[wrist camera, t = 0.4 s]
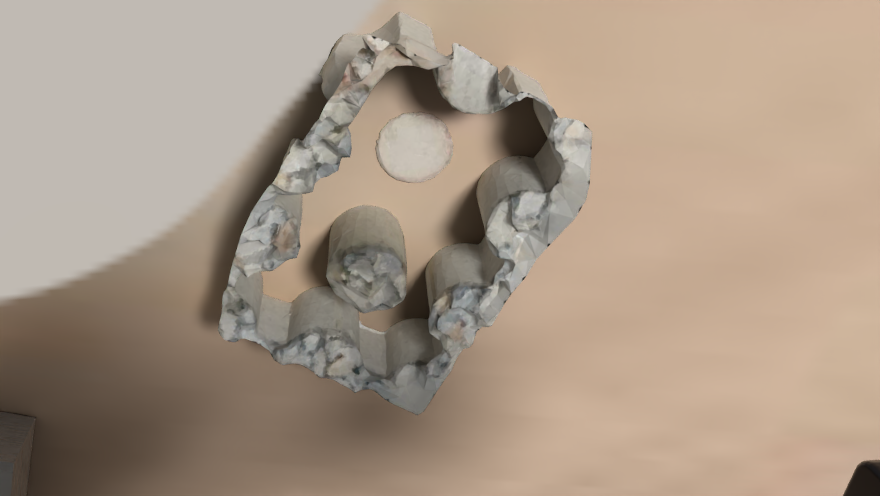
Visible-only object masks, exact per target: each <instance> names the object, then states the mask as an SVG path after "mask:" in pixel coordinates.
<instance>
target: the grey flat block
mask: <svg viewBox="0 0 880 496" xmlns="http://www.w3.org/2000/svg"><path fill="white" fill-rule="evenodd" d="M35 419H36V417H30V416H24V415H18V414H12V413H6V412H0V496H27V489H28V480H29V471H30V462H31V454H32V445H33V436H34V427H35Z"/></svg>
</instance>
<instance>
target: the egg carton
mask: <svg viewBox="0 0 880 496" xmlns="http://www.w3.org/2000/svg"><path fill="white" fill-rule="evenodd" d="M352 34H354V33H346V34H344V35H342V36H341V37H340V38H339V39H338V40H337V41H336V43H335V44H334V46H333V47H332V49H331V51H330V54H329V56H328V59H327V61H326V62H325V64H324V65H323V67H322V69H321V72H320V74H319V76H321V77H322V79H323V83H322V91H323V94H324V96H325V97H326V98H327V100H328V102H327V104H326V105H325V107H324V109H323V111H322V113H321V116H320V118H319V119H318V120H317V122H316V123H315V124H314V125H313V127H312V128H311V130H310V131H309V132H308V134H307V135H306V137H305V138H304V140H299V138H298V139H292V140H291V143H290V145H289V148H288V151H287V153H286V154H285V156H284V159H283V162H282V166H281V168H280V171H279V173H278V175H277V177H276V178H275V180H274V182H273V183H272V184H271V185H269V186H268V188H267V189H266V190H265V192H264V193H263V195H262V196H261V198H260V199H259V201H258V202H257V204H256V205H255V207H254V208H253V210H252V212H251V214H250V216H249V218H248V220H247V223H246V225H245V227H244V229H243V232H242V234H241V237H240V241H239V244H238V247H237V251H236V254H235V257H234V261H233V264H232V267H231V271H230V276H229V281H228V285H227V288H226V290H225V291H224V294H223V299H222V314H221V318H220V323H219V327H218V331H219V334H220V335H221V336H222V338H223V339H224V340H227V341H230V342H236V341H238V340H239V339H247V340H250V341H253V342H255V343H258V344H260V345H262V346H263V347H264V348H266V349H267V350H269V351H270V353H271V355H272V357H273V358H274V360H275V361H277V362H278V363H280V364H282V365H286V364H293V363H295V364H300V365H303V366H304V367H306V368H308V369H310V370H311V371H313V372H314V373H315V374H316V375H317V376H318V377H320V378H328V379H333V380H334V381H336V382H338V383H340V384H342V385H343V386H345V387H347V388H349V389H351V390H352V391H353V392H355V393H356V392H358V391H360V390H364V389H371V390H374V391H375V392H376V393H378V394H379V395H380V396H381V397H383V398H384V399H385V400H387V401H389V402H391V403H392V404H394V405H396V406H399V407H401V408H403V409H405V410H407V411H410V412H412V413H414V414H416V415H419V414H420V413H422V412H423V411H424V410H425V409H426V407H427V405H428V404H429V402H430V401H431V399H432V398H433V396H434V395H435V393H436V392H437V390H438V389H439V387H440V386H441V384H442V383H443V381H444V380H445V378H446V377H447V376H448V374H449V373H450V372H451V370H452V368H453V366H454V363H455V361H456V358H457V357H458V355H459V354H460V353H461V351H462V350H463V349H465V348H469V347H470V346H471V345H472V344H473V342H474V338H475V334H476V332H477V331H478V330H479V329H480V328H481V327H489V326H492V324H493V322H494V321H495V319H496V317H497V316H498V314H499V312H500V311H501V309H502V307H503V305H504V303H505V302H506V301H507V299H508V298H509V296H510V295H511V293H512V292H513V291H514V290H515V289H516V288H517V286H518V285H519V284H520V283H521V282H522V281H523V280H524V278H525V277H526V276H527V274H528V272H529V271H530V269H531V267H532V266H533V264H534V262H535V261H536V259H537V258H538V257H539V256H540V255H541V254H542V253H543V252H544V250H545V249H546V248H547V247H548V246H549V245H550V244H551V243H552V242H553V241H554V240H555V239H556V238H557V237H558V236H559V235H560V234H561V233H562V232H563V230H564V229H565V228H566V227H567V226H568V225H569V224H570V223H571V222H572V221H573V220H574V219H575V217H576V216H577V214H578V212H579V211H580V209H581V207H582V206H583V204H584V202H585V201H586V197H587V192H588V188H589V183H590V165H591V146H592V131H591V130H590V129H589V128H588V127H587V126H586V125H585V124H584V123H582V122H580V121H578V120H574V119H569V118H559V117H557V115H556V113H555V111H554V109H553V108H552V106H551V105H550V104H549V102H548V98H547V96H546V94H545V93H544V91H543V90H542V88H541V85H540V84H539V82H538V81H537V80H535V79H534V78H532V77H530V76H528V75H526V74H525V73H523V72H521V71H520V70H519V69H517V68H516V67H514V66H506V67H505V68H504V69H503V70H502V71H501V72H500V73H499V74H498V69H497V67H495V66H493V65H492V64H490V63H489V62H488V61H486V60H484V59H482V58H481V57H479V56H478V55H476V54H475V53H473V52H471V51H469V50H468V49H466V48H464V47H463V46H461V45H459V44H456V43H453V44H452V49H453V52H452V54H451V55H449V56H447V57H446V56H444V55H443V54H441V53H439V52H437V50H436V49H437V48H436V47H435V44H434V39H433V34H432V31H431V28H430V27H429V26H427V25H426V24H424V23H422V22H420V21H418V20H416V19H414V18H412V17H411V16H409V15H407V14H405V13H402V12H398V13H397V14H396V15H395V16H394V17H393V18H392V19H391V20H390V21H389V22H388V23H386V24H385V25H384V26H383V27H382V28H380V29H379V30H377V31H375V32H373V33H370V34H365V35H359V36H357V35H352ZM404 65H411V66H416V67H420V68H424V69H427V70H429V69H433V74H434V78H435V81H436V84H437V87H438V90H439V92H440V93H441V95H442V97H443V98H444V99H445V100H447V101H448V102H449V104H450V105H451V106H452V107H453V108H455V109H457V110H459V111H461V112H463V113H469V114H492V113H494V112H497V111H499V110H502V109H504V108H506V107H507V106H509V105H510V104H511V103H513V102H517V101H520V100H521V99H523V98H525V97H530V98H533V108H534V111H535V114H536V116H537V118H538V120H539V122H540V124H541V126H542V128H543V130H544V132H545V134H546V136H547V140H546V142H545V144H544V145H543V147H542V148H541V150H540V151H539V152H538V153H537V155H536V156H535V157H534V158H531V157H526V156H521V155H520V156H511V157H506V158H503V159H501V160H498V161H497V162H495V163H494V164H492V165H491V166H490V167H488V168H487V169H486V170H485V171H484V172H483V173H482V175H481V177H480V180H479V181H478V186H477V191H476V195H477V200H478V205H479V208H480V212H481V216H482V220H483V224H484V229H485V237H484V238H483V240H482V241H481V242H480V244H478V245H477V244H469V243H459V244H453V245H450V246H447V247H444V248H442V249H441V250H439V251H438V252H437V253H436V254H435V255H434V256H433V257H432V258H431V260H430V261H429V263H428V265H427V267H426V273H425V277H426V283H427V294H428V301H429V308H430V314H429V319H421V318H412V319H405V320H402V321H400V322H398V323H396V324H394V325H393V326H391V327H390V328H389V329H388V330H386V331H385V332H379V331H376V330H374V329H370V328H368V327H365V326H363V325H362V324H361V321H359V311H360V312H362V313H367V312H371V311H376V310H387V309H390V308H393V307H394V306H396V305H397V304H399V303H400V302H402V301H403V300H404V298H405V296H406V275H407V262H406V251H405V245H404V236H403V232H402V229H401V226H400V224H399V222H398V220H397V218H396V217H395V216H394V215H393V214H391V213H390V212H388V211H387V210H385V209H383V208H380V207H376V206H367V205H362V206H357V207H354V208H351V209H349V210H347V211H346V212H344V213H343V214H341V215H340V216H339V217H337V219H336V220H335V221H334V223H333V225H332V226H331V231H330V236H329V253H328V267H327V273H326V277H327V279H328V282H329V284H330V286H331V287H327V286H323V287H315V288H311V289H309V290H306V291H304V292H303V293H301V294H300V295H299V296H298V297H297V298H296V299H295V300H294V301H293V302H290V303H288V302H284V301H281V300H279V299H275V298H272V297H269V296H267V295H264V294H263V278H262V275H261V272H260V271H272V270H274V269H275V268H277V267H278V266H279V265H281V264H282V263H283V262H285V261H286V260H288V259H292V258H297V255H298V252H299V249H300V241H299V231H300V226H301V218H302V194H306V193H310V192H313V188H314V185H315V183H316V182H317V181H318V180H319V179H320V178H323V177H327V176H329V175H331V174H332V173H334V172H336V171H338V169H339V165H340V161H341V158H342V157H350V154H351V149H352V148H351V134H350V131H349V129H348V126H349V125H350V124H351V122H352V121H353V120H354V118H355V117H356V115H357V114H358V112H359V110H360V109H361V107H362V106H363V104H364V102H365V101H366V99H367V97H368V96H369V94H370V92H371V91H372V89H373V88H374V87H375V85H376V84H377V83H378V82H379V81H380V80H381V78H382V77H383V76H384V75H385V74H386V73H387V72H389V71H390V70H391V69H393V68H394V67H395V66H404ZM376 142H377V145H376V153H377V158H378V160H379V163H380V165H381V167H382V168H383V169H384V170H385V171H386V172H387V173H388V175H390V176H391V177H393V178H395V179H396V180H400V181H404V182H408V183H418V182H424V181H426V180H429V179H432V178H434V177H435V176H436V175H437V174H439V173H440V172H441V171H442V170H443V169H444V168H445V167H446V166H447V165H448V164H449V163H450V161H451V158H452V155H453V142H452V138H451V135H450V133H449V130H448V128H447V126H446V125H445V124H444V123H443V122H442V121H441V120H440V119H438V118H437V117H435V116H433V115H431V114H427V113H423V112H418V113H414V112H413V113H403V114H401V115H399V116H398V117H395V118H393V119H391V120H390V121H389V122H388V123H387V124H386V125H385V126H384V127H383V129H382V130H381V131H380V133H379V138H378V140H377V141H376Z"/></svg>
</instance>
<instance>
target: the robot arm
mask: <svg viewBox="0 0 880 496" xmlns="http://www.w3.org/2000/svg"><path fill="white" fill-rule="evenodd" d="M843 496H880V460H869V461H863V462H861V463H860V464H859V465H858V466H857V467H856V469H855V471H854V473H853V475H852V478H851V480H850V482H849V484H848V486H847V488H846V490H845V492H844V494H843Z"/></svg>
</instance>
